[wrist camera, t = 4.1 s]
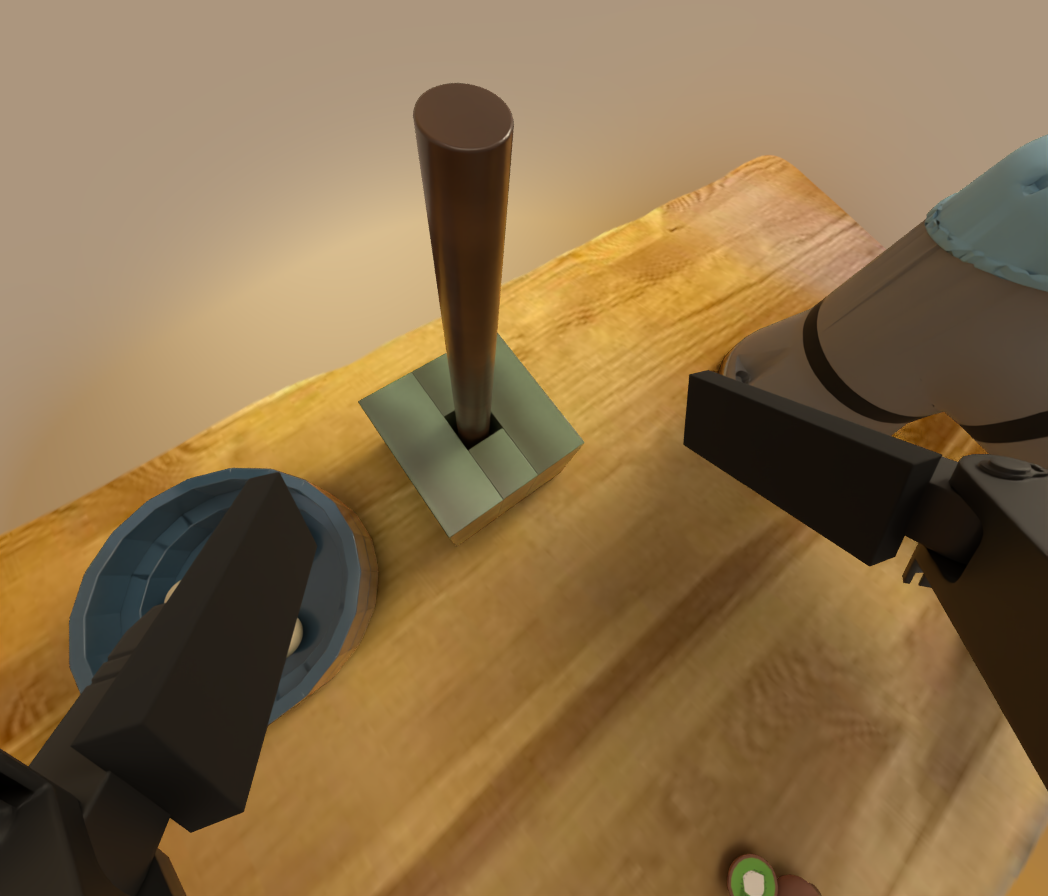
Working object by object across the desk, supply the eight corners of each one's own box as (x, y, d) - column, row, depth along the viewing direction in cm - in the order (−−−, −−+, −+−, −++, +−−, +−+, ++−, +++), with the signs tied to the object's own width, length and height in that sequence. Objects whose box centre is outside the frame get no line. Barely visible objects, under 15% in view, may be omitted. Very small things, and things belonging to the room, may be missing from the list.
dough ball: (297, 601, 27) (277, 604, 24) (318, 637, 27) (299, 645, 24) (256, 629, 26) (229, 635, 24) (276, 667, 26) (252, 679, 23)
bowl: (318, 449, 32) (287, 425, 26) (420, 612, 29) (407, 621, 23) (112, 566, 27) (26, 565, 22) (207, 772, 24) (134, 826, 19)
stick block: (489, 379, 35) (493, 326, 28) (560, 472, 33) (584, 442, 26) (385, 441, 32) (357, 401, 25) (456, 547, 30) (449, 538, 23)
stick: (477, 440, 33) (477, 71, 9) (492, 460, 33) (533, 130, 8) (456, 453, 33) (393, 98, 8) (470, 474, 32) (448, 163, 8)
